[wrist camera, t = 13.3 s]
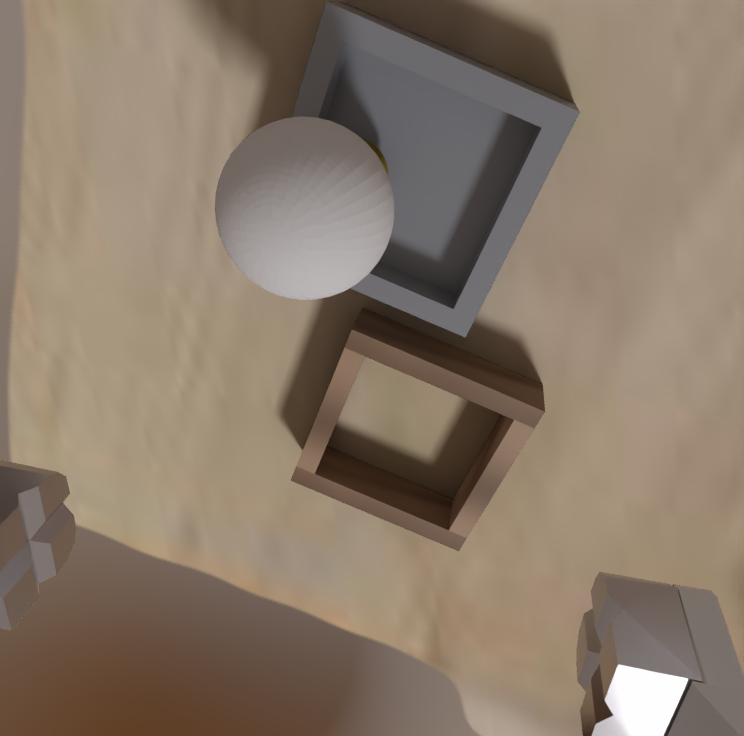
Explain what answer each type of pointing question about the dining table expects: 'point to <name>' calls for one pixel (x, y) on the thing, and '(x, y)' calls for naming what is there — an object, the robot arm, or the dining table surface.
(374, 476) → the frame
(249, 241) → the light bulb
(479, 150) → the tray
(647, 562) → the dining table surface
